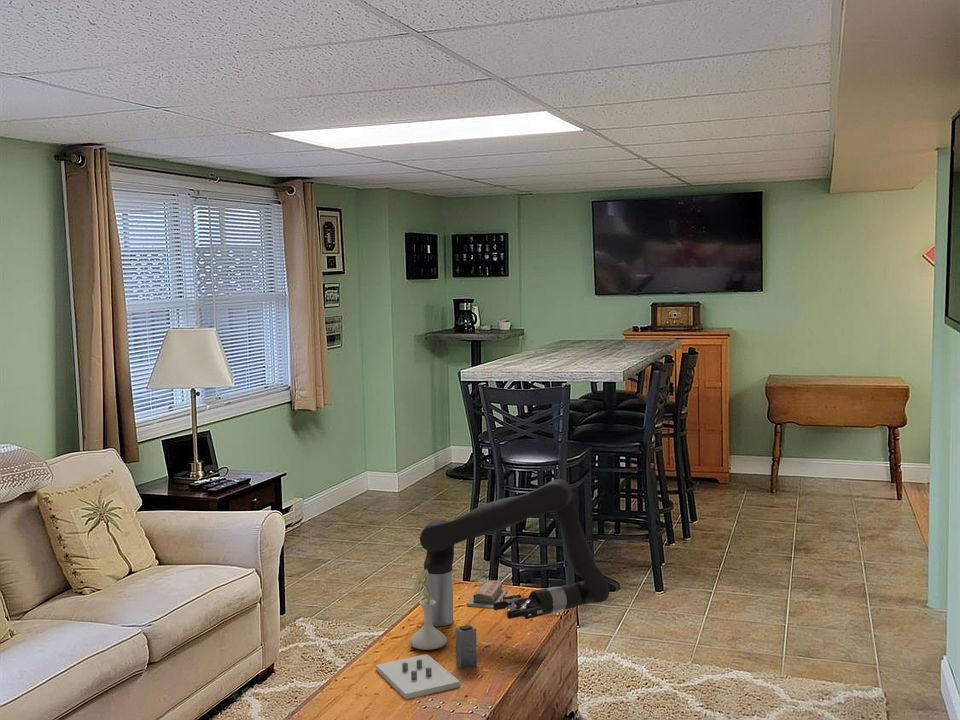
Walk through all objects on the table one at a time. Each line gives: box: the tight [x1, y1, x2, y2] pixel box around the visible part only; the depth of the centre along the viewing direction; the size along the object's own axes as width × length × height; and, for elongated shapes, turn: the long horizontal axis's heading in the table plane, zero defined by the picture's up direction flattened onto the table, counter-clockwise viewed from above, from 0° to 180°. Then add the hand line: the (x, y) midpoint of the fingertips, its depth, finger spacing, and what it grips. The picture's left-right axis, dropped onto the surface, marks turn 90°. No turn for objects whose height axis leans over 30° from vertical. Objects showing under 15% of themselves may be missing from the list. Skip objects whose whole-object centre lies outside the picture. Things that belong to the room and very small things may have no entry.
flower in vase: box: [409, 568, 448, 651], centre depth 286 cm, size 13×11×25 cm
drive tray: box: [375, 653, 461, 700], centre depth 264 cm, size 22×16×4 cm
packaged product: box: [466, 579, 508, 609], centre depth 329 cm, size 18×5×10 cm
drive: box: [455, 624, 478, 670], centre depth 272 cm, size 3×5×12 cm, turn 117°
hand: (500, 611), depth 276 cm, fingers open, 8 cm apart
